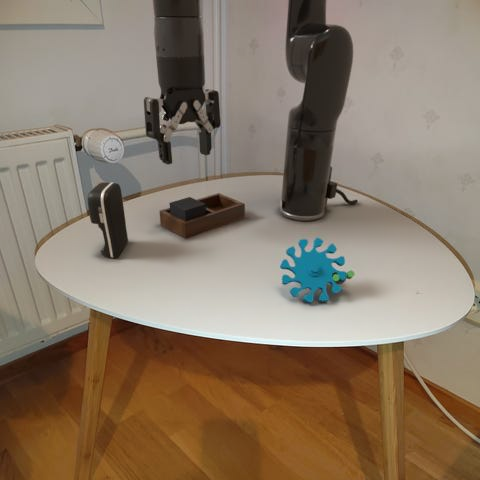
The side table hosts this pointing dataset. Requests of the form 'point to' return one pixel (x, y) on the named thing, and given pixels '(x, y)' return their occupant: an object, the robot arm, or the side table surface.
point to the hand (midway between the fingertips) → (186, 158)
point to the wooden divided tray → (205, 216)
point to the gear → (315, 270)
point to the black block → (187, 209)
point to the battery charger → (109, 216)
